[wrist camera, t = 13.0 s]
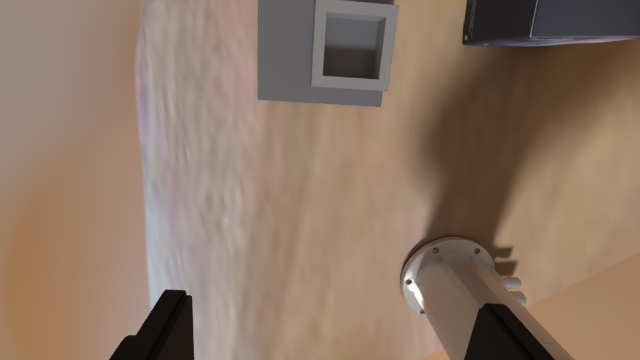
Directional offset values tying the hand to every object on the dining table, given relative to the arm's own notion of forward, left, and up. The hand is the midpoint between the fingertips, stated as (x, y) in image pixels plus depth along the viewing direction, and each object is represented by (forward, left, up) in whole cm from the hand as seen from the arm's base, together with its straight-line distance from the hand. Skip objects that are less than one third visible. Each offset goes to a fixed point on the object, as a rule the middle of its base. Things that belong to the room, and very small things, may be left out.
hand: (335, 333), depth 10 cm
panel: (-1, -16, -27) cm, 31 cm away
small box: (-21, -15, -28) cm, 38 cm away
